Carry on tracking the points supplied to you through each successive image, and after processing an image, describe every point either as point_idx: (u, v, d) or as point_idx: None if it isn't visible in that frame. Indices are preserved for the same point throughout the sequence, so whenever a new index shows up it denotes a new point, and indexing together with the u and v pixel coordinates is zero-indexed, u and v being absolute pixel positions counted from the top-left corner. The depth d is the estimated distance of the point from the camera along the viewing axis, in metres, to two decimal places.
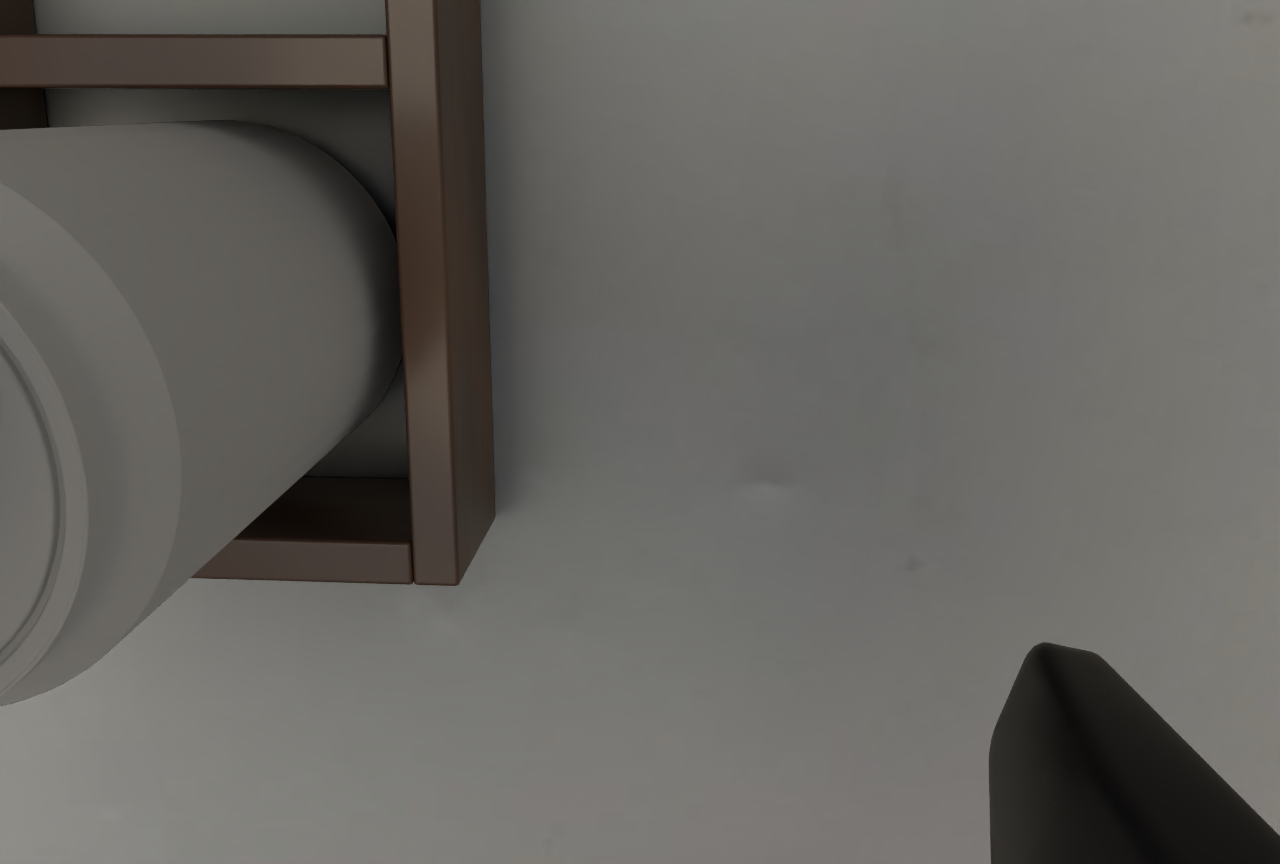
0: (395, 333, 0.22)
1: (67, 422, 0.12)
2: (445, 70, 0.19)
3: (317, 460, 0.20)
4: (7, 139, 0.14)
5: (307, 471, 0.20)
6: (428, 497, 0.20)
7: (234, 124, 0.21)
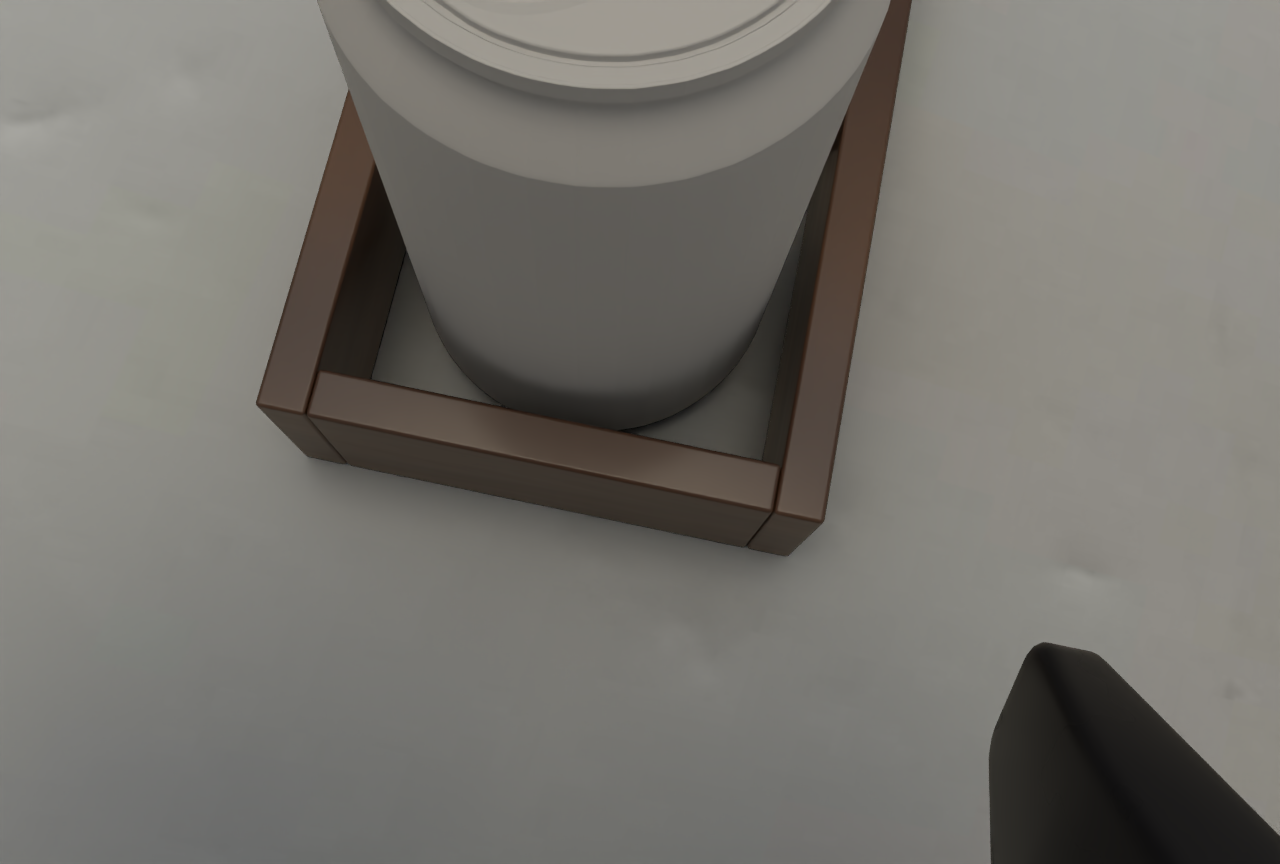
0: None
1: None
2: None
3: (722, 339, 0.19)
4: None
5: (701, 356, 0.19)
6: (812, 419, 0.19)
7: None
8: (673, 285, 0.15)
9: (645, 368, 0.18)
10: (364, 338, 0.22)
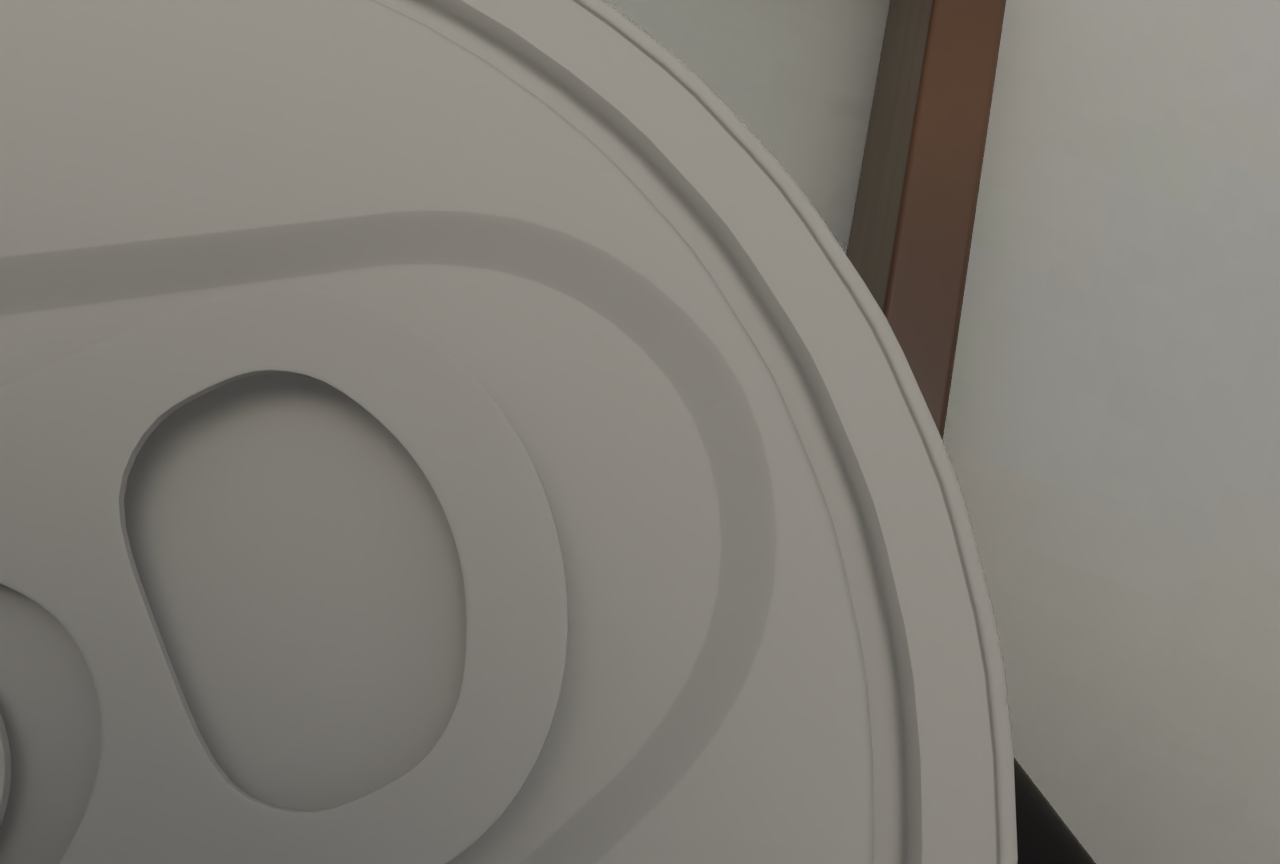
0: None
1: (991, 744, 0.03)
2: None
3: None
4: None
5: None
6: None
7: None
8: None
9: None
10: None
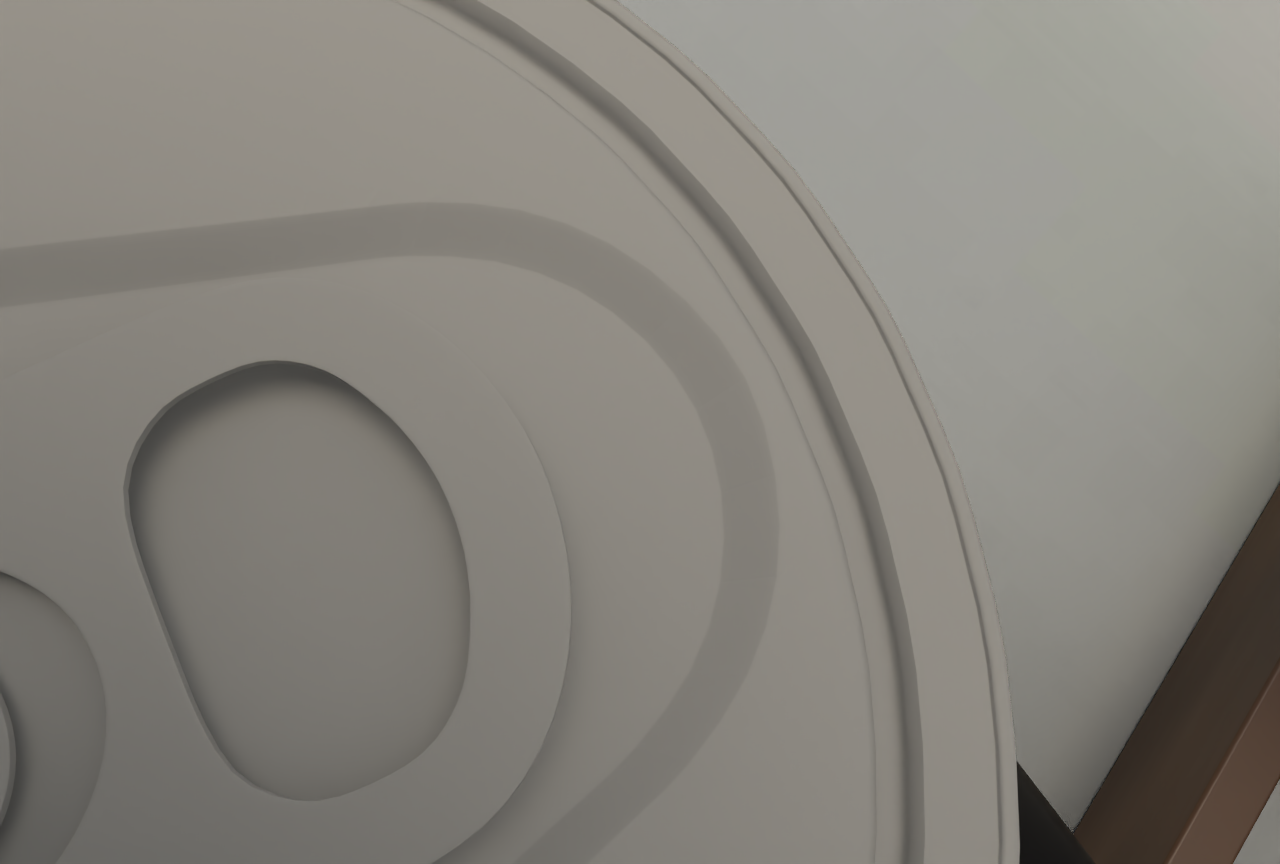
0: None
1: (990, 732, 0.03)
2: None
3: None
4: None
5: None
6: None
7: None
8: None
9: None
10: None
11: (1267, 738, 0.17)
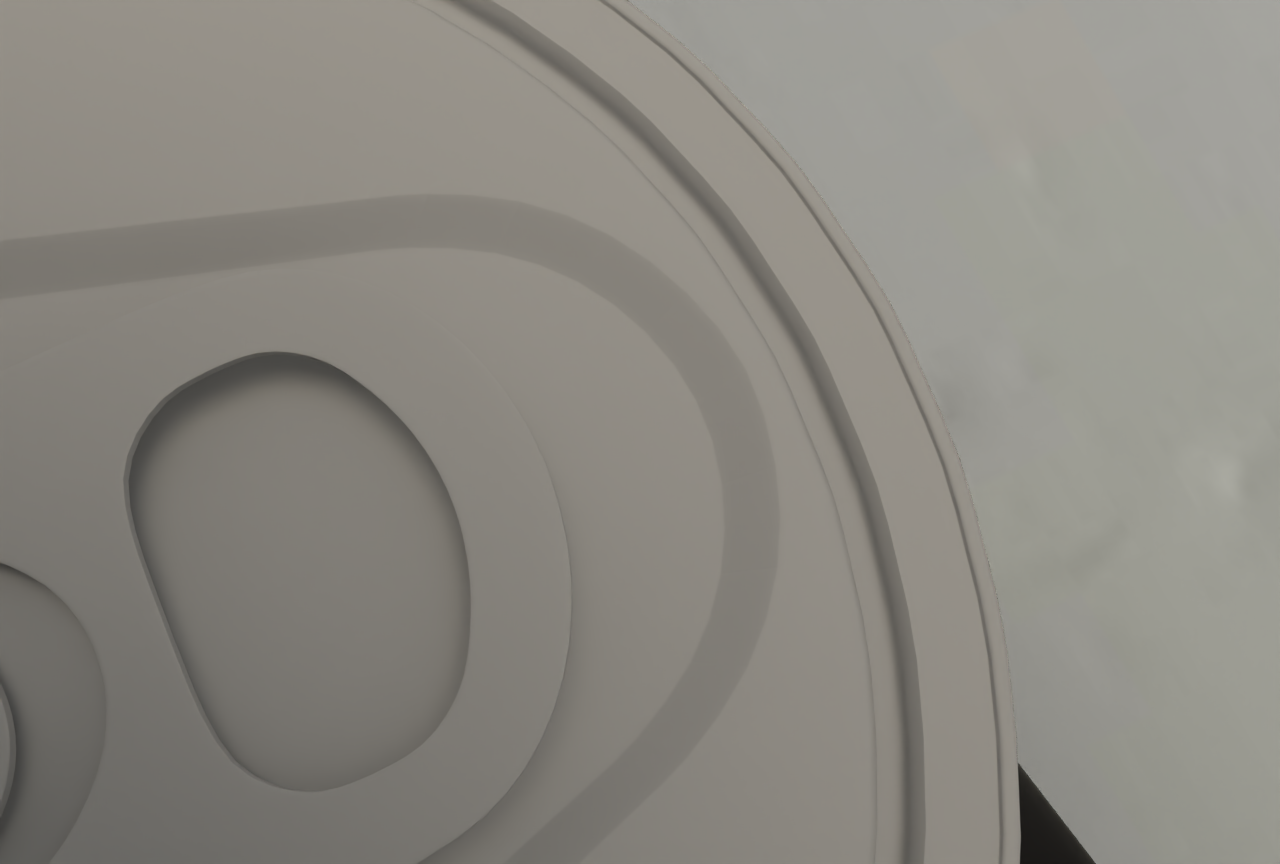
0: None
1: (994, 724, 0.03)
2: None
3: None
4: None
5: None
6: None
7: None
8: None
9: None
10: None
11: None
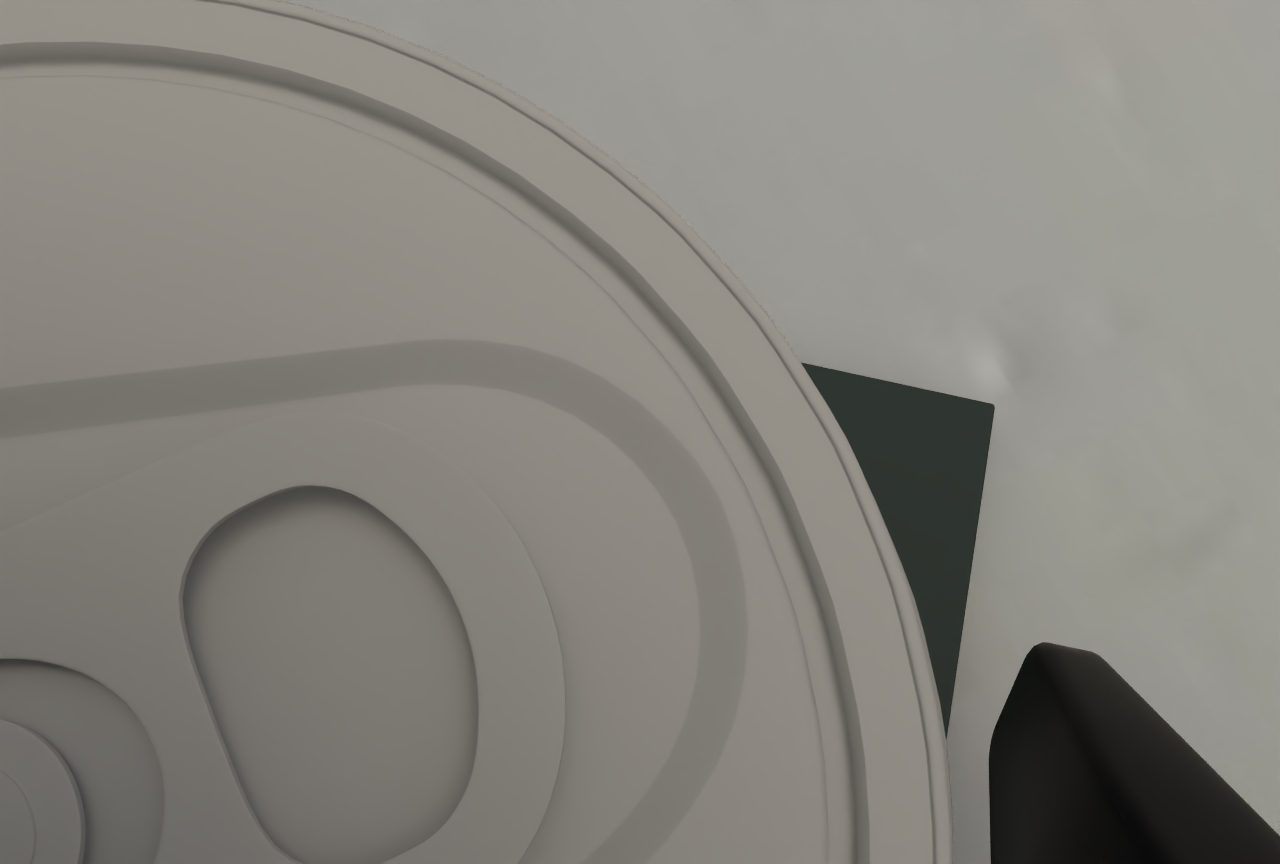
0: None
1: (930, 816, 0.04)
2: None
3: None
4: None
5: None
6: None
7: None
8: None
9: None
10: None
11: None
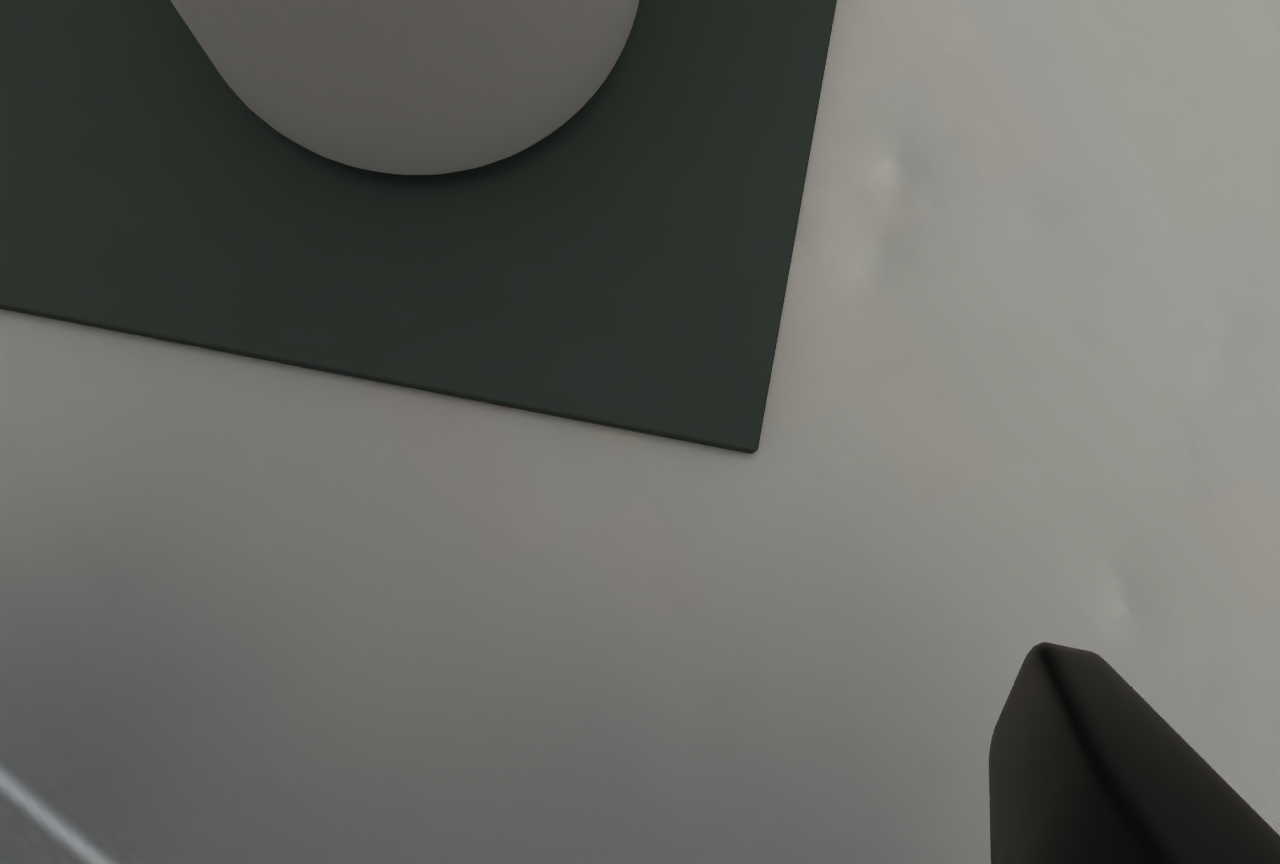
0: None
1: None
2: None
3: (554, 24, 0.14)
4: None
5: (528, 50, 0.14)
6: None
7: None
8: None
9: (444, 63, 0.13)
10: None
11: None
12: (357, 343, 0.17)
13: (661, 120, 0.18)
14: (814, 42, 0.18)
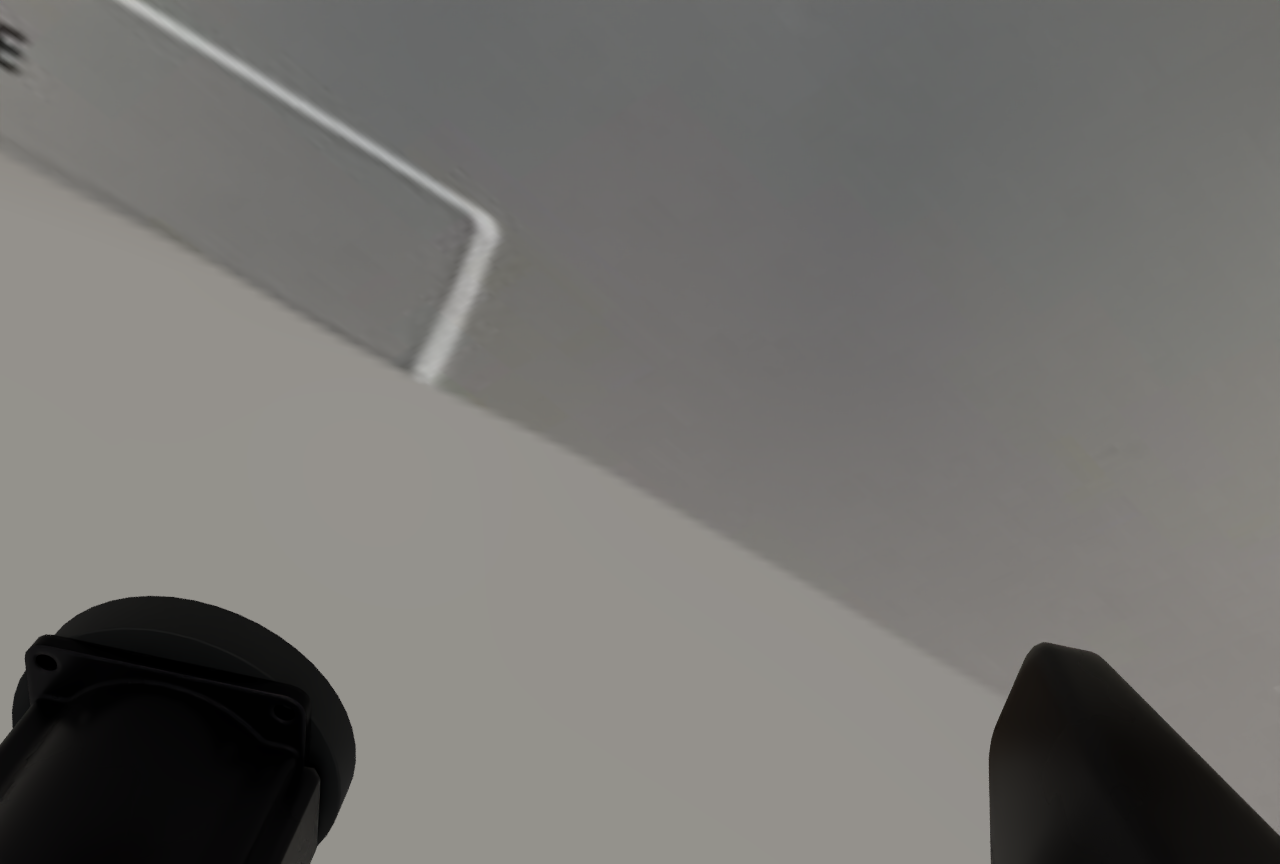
0: None
1: None
2: None
3: None
4: None
5: None
6: None
7: None
8: None
9: None
10: None
11: None
12: None
13: None
14: None
